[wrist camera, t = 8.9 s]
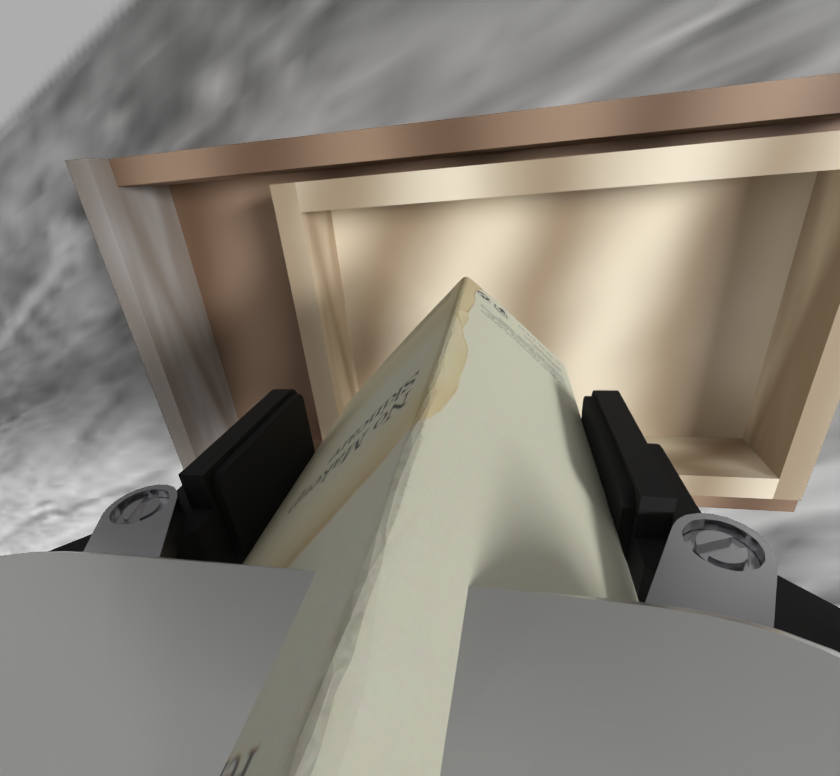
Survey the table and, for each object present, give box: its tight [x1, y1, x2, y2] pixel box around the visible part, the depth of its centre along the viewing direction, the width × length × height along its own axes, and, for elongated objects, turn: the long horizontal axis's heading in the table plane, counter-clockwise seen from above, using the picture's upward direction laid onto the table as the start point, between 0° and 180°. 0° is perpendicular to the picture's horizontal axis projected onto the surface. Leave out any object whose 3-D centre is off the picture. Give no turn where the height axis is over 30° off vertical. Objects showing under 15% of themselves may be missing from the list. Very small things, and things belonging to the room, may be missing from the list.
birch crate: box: [270, 130, 840, 501], centre depth 18 cm, size 20×13×4 cm, turn 95°
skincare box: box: [220, 277, 639, 776], centre depth 9 cm, size 6×4×12 cm
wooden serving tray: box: [66, 73, 840, 512], centre depth 19 cm, size 29×16×5 cm, turn 95°
